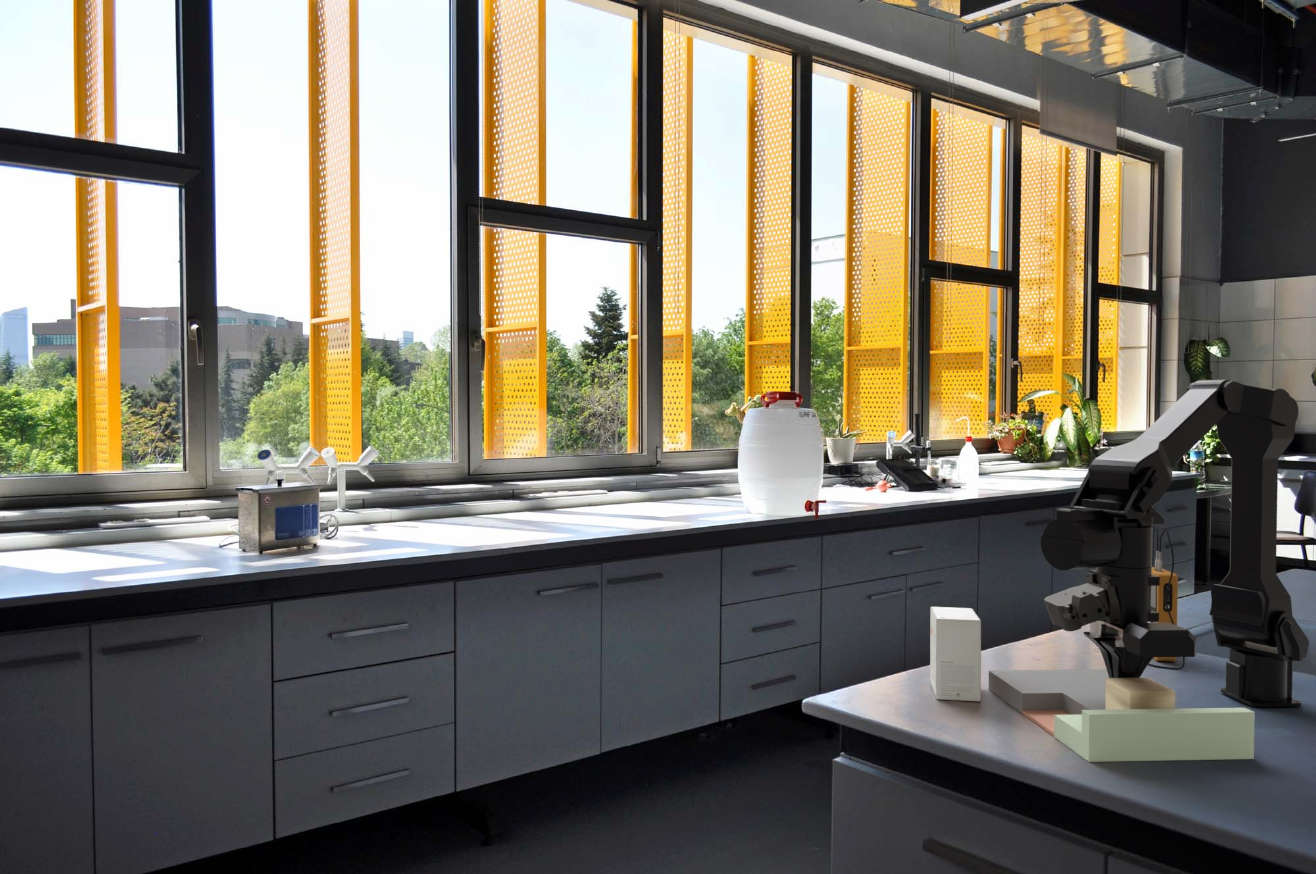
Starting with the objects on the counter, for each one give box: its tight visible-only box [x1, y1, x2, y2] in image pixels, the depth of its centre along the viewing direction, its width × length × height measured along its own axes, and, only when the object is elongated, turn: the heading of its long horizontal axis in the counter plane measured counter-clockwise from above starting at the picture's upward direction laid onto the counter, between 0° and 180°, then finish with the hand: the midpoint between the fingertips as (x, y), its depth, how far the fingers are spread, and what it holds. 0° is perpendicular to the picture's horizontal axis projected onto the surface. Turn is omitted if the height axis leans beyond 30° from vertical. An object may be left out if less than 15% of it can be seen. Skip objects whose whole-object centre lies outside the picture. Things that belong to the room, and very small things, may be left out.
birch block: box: [1105, 677, 1176, 710], centre depth 102 cm, size 5×5×4 cm
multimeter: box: [1093, 525, 1186, 671], centre depth 139 cm, size 15×10×20 cm
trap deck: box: [988, 668, 1256, 763], centre depth 110 cm, size 18×26×5 cm
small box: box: [929, 606, 982, 702], centre depth 121 cm, size 8×6×10 cm
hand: (1120, 698), depth 107 cm, fingers closed
